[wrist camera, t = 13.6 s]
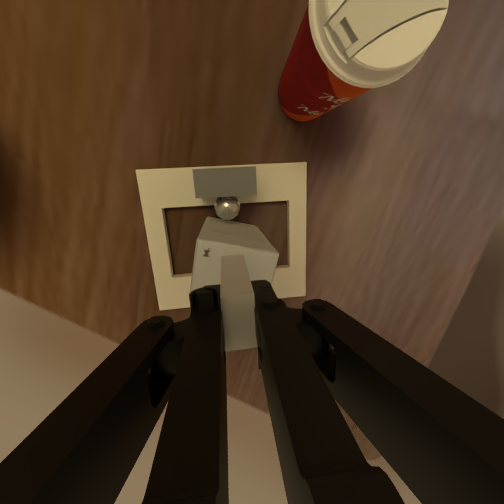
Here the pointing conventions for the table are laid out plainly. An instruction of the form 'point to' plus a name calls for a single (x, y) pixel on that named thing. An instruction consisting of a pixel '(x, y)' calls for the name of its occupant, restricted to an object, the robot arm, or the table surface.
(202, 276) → the skincare box
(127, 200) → the table surface
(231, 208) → the silver metal knob
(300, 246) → the socket board
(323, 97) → the paper cup
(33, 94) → the table surface
